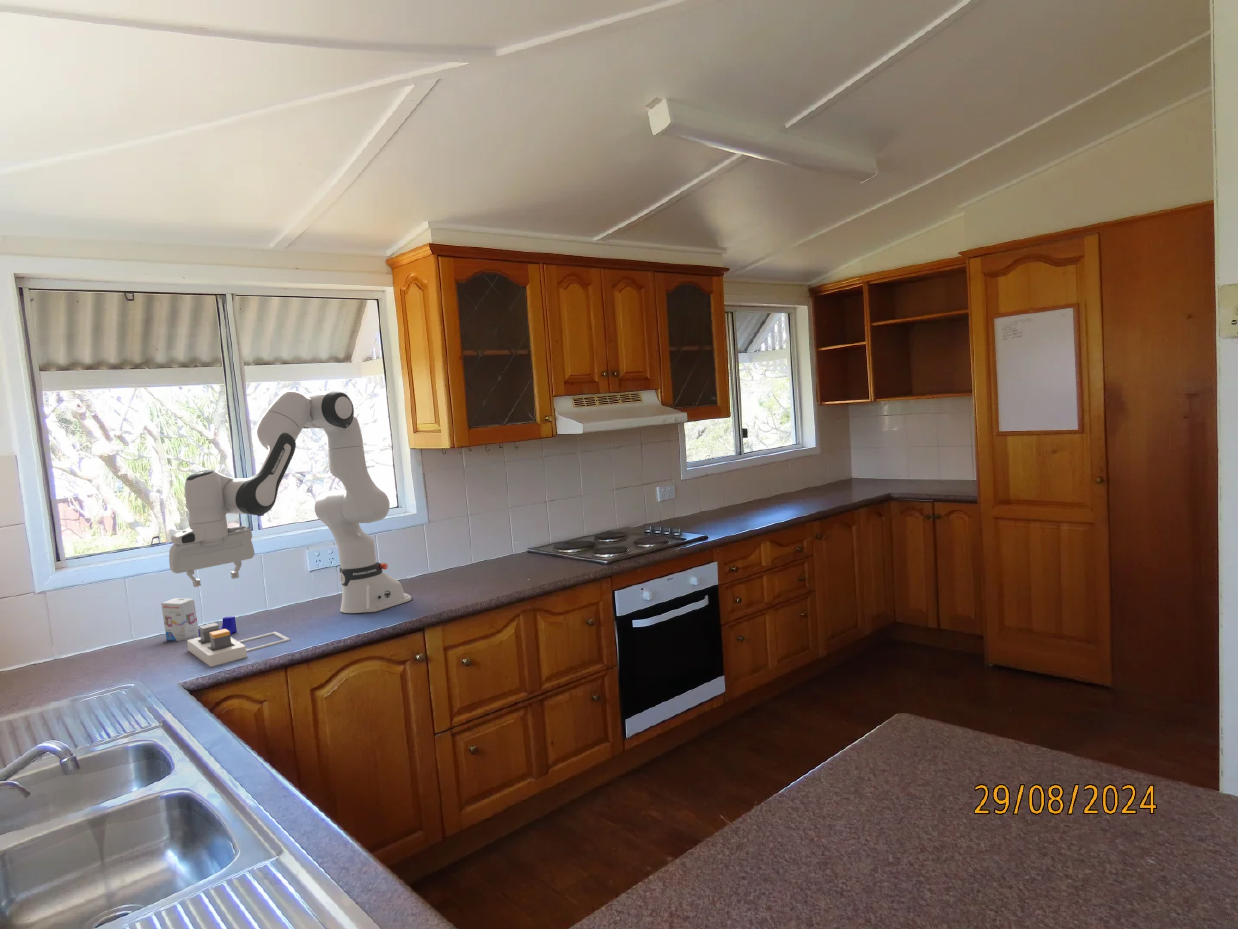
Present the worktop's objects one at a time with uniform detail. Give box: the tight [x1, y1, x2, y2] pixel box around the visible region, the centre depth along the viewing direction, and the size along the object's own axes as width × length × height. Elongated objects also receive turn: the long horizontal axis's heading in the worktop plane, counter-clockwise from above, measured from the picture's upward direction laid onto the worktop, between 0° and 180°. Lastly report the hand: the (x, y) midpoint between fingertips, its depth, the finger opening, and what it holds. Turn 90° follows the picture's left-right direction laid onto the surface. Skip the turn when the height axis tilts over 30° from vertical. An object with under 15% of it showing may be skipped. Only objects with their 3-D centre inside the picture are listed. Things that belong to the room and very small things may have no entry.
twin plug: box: [198, 622, 220, 644], centre depth 214 cm, size 4×4×7 cm
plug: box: [209, 629, 232, 651], centre depth 206 cm, size 4×4×7 cm
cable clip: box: [198, 615, 238, 637], centre depth 225 cm, size 12×4×6 cm, turn 171°
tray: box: [237, 631, 291, 653], centre depth 218 cm, size 12×12×1 cm
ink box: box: [160, 597, 199, 642], centre depth 232 cm, size 9×5×12 cm, turn 70°
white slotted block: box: [186, 636, 248, 668], centre depth 210 cm, size 9×22×4 cm, turn 42°
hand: (216, 582), depth 206 cm, fingers open, 8 cm apart
